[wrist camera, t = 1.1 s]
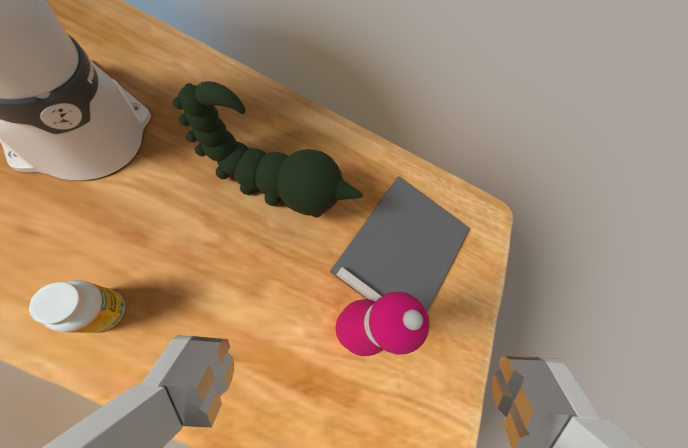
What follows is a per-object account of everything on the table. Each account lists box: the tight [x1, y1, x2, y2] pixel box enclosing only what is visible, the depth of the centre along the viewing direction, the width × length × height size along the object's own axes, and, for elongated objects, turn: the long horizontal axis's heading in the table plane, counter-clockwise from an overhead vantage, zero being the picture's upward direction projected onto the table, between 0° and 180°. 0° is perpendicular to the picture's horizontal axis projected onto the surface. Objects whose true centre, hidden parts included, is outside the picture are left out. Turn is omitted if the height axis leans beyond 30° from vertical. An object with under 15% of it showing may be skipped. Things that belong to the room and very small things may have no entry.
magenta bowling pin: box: [336, 291, 429, 356], centre depth 36 cm, size 7×7×20 cm
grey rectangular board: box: [330, 176, 469, 311], centre depth 51 cm, size 22×16×1 cm
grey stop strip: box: [336, 267, 381, 302], centre depth 46 cm, size 1×14×2 cm, turn 55°
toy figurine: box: [173, 81, 363, 217], centre depth 42 cm, size 9×19×25 cm
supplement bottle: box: [29, 280, 125, 333], centre depth 34 cm, size 5×5×10 cm
